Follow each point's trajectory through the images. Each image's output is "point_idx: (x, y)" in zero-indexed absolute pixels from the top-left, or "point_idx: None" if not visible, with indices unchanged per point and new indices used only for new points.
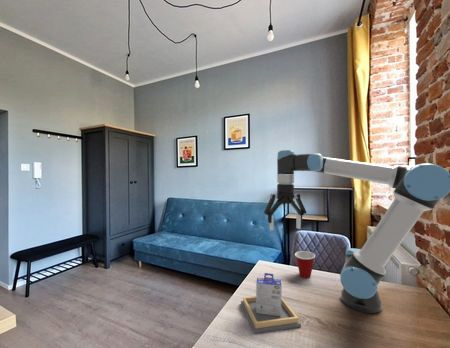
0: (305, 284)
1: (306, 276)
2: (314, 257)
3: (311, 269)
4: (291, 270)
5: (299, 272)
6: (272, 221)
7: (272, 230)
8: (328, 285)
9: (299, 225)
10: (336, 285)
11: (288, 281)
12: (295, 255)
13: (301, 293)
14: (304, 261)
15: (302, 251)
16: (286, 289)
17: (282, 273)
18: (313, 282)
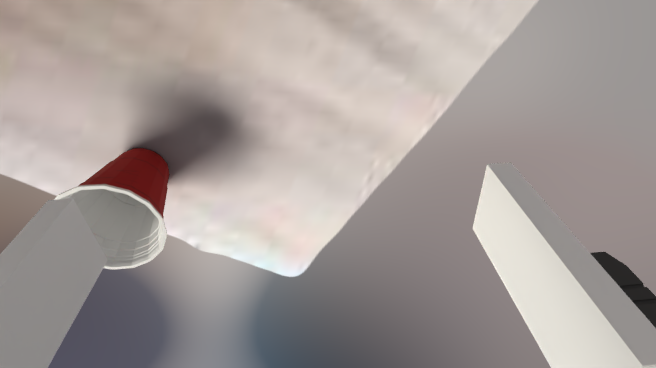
0: (165, 95)
1: (142, 150)
2: (56, 199)
3: (103, 167)
4: (195, 210)
5: (167, 176)
6: (583, 262)
7: (502, 164)
8: (51, 75)
9: (37, 239)
10: (8, 71)
11: (238, 126)
12: (164, 230)
13: (209, 19)
14: (127, 185)
15: (112, 266)
16: (270, 62)
17: (243, 190)
18: (121, 108)
